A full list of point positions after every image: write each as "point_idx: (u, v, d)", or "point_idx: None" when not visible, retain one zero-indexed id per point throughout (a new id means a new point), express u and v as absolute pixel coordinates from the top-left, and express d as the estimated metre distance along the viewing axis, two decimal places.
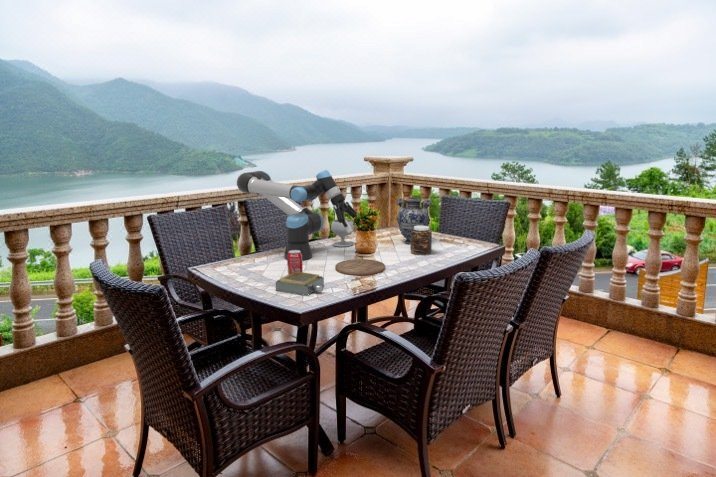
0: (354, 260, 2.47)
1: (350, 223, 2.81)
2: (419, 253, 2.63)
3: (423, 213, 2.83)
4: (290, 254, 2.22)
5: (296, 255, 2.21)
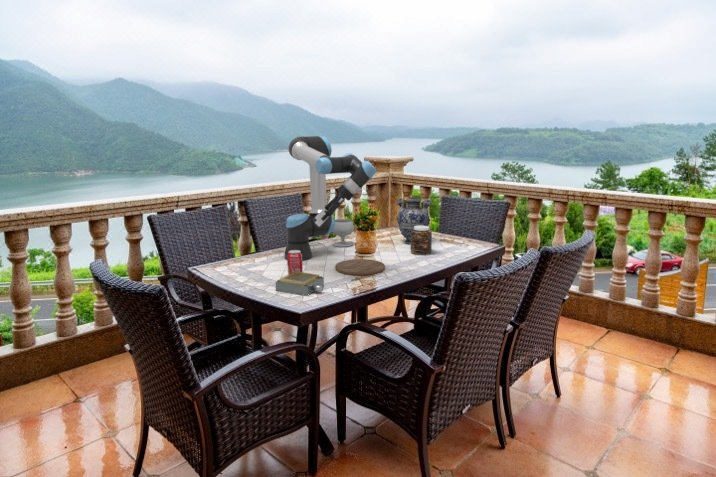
0: (354, 260, 2.47)
1: (350, 223, 2.81)
2: (419, 253, 2.63)
3: (423, 213, 2.83)
4: (290, 254, 2.22)
5: (296, 255, 2.21)
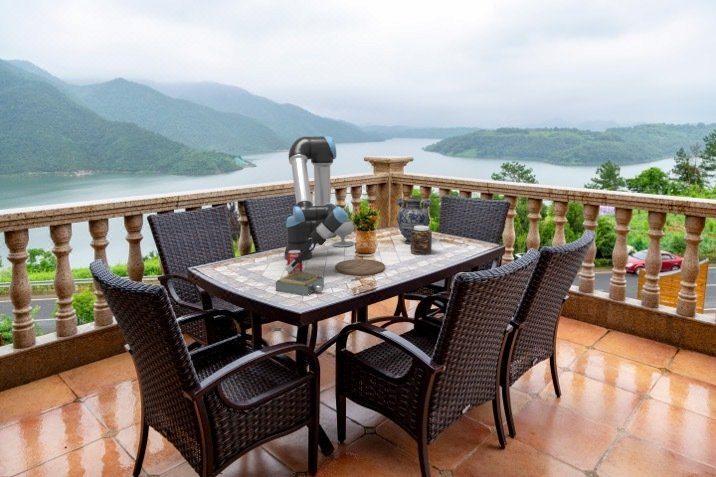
0: (354, 260, 2.47)
1: (350, 223, 2.81)
2: (419, 253, 2.63)
3: (423, 213, 2.83)
4: (290, 254, 2.22)
5: (296, 255, 2.21)
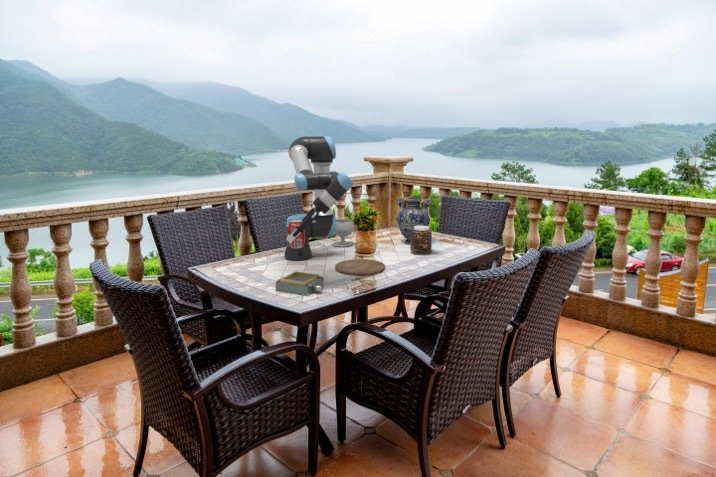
0: (354, 260, 2.47)
1: (350, 223, 2.81)
2: (419, 253, 2.63)
3: (423, 213, 2.83)
4: (291, 223, 2.08)
5: (298, 224, 2.07)
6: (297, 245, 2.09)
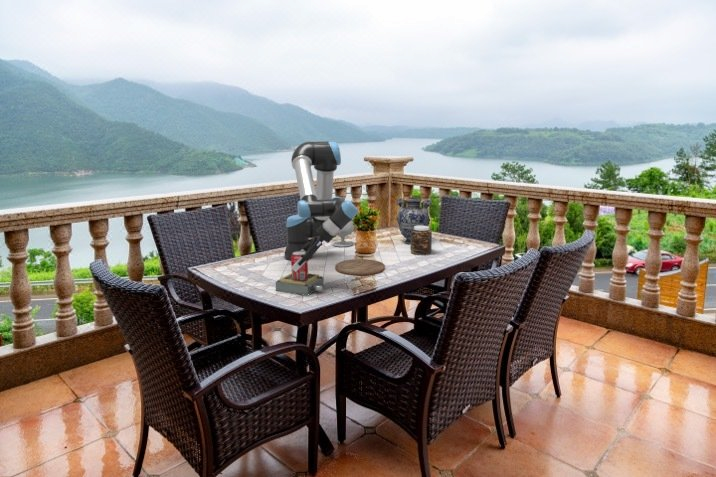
0: (354, 260, 2.47)
1: (350, 223, 2.81)
2: (419, 253, 2.63)
3: (423, 213, 2.83)
4: (294, 256, 2.03)
5: None
6: (300, 278, 2.04)
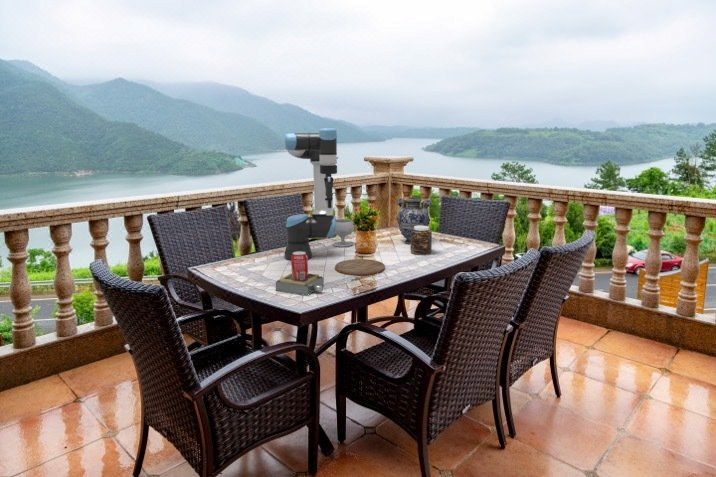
0: (354, 260, 2.47)
1: (350, 223, 2.81)
2: (419, 253, 2.63)
3: (423, 213, 2.83)
4: (294, 256, 2.03)
5: (301, 257, 2.02)
6: (300, 278, 2.04)
